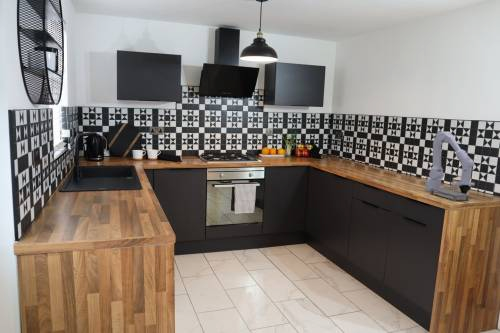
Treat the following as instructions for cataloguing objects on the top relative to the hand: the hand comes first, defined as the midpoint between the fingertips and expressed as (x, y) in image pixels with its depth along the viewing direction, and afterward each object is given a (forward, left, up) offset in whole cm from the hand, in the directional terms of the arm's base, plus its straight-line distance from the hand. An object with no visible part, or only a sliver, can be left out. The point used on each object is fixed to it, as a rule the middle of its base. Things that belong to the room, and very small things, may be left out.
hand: (463, 195), depth 269 cm
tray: (-4, -9, -1) cm, 10 cm away
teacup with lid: (-13, +19, -1) cm, 23 cm away
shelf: (-5, -11, -1) cm, 12 cm away
